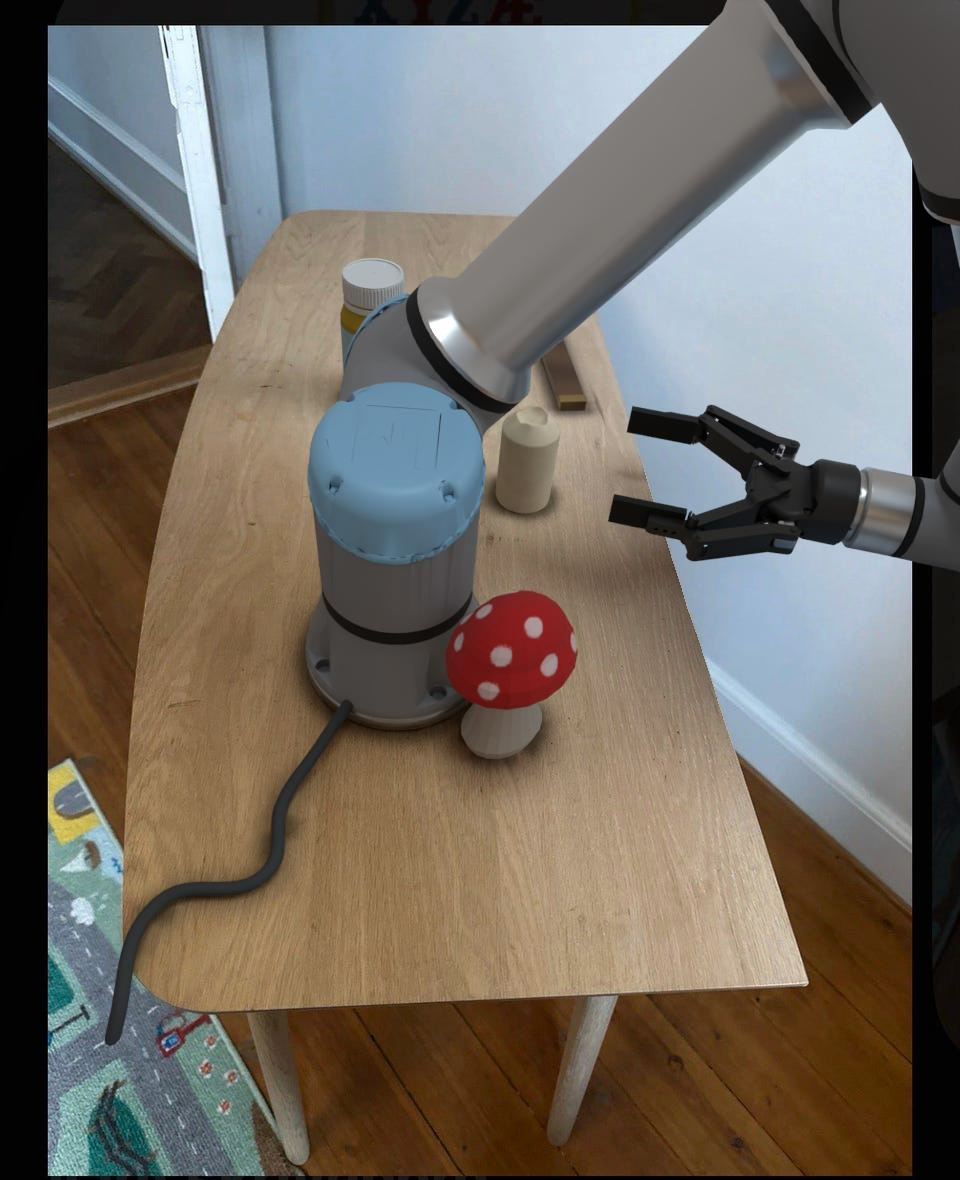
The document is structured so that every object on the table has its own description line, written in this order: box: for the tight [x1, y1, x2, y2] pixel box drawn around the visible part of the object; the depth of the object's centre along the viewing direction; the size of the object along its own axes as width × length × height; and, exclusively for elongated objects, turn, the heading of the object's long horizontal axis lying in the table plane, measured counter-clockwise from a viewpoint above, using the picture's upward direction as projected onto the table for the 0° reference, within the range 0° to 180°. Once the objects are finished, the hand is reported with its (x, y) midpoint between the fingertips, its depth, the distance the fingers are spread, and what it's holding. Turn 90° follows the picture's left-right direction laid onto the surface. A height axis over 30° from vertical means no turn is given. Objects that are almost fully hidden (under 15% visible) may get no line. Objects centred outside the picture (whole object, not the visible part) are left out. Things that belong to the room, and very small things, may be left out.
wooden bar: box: [541, 339, 588, 412], centre depth 106 cm, size 24×3×1 cm, turn 8°
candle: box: [495, 405, 561, 514], centre depth 85 cm, size 6×6×10 cm
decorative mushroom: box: [445, 589, 579, 760], centre depth 64 cm, size 10×9×15 cm
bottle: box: [339, 257, 405, 372], centre depth 93 cm, size 7×7×15 cm
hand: (620, 461), depth 83 cm, fingers open, 13 cm apart
